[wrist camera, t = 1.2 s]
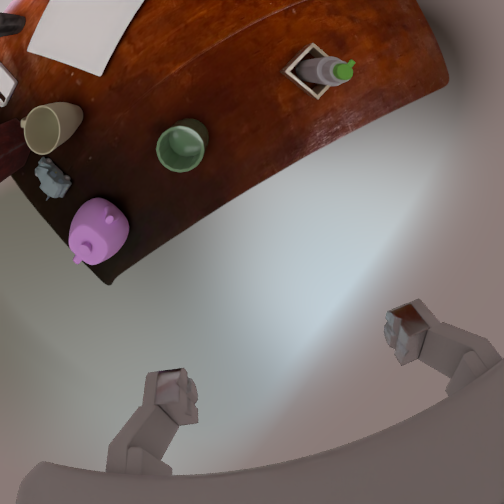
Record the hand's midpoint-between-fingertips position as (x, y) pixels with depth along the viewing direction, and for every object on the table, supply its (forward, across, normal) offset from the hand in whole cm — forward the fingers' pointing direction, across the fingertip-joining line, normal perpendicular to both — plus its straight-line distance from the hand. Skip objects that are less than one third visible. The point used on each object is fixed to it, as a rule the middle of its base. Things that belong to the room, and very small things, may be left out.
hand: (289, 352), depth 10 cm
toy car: (+52, +39, -7) cm, 65 cm away
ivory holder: (+44, -18, -12) cm, 49 cm away
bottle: (+45, -18, -12) cm, 49 cm away
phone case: (+50, +47, -38) cm, 78 cm away
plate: (+46, +19, -38) cm, 63 cm away
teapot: (+52, +30, +7) cm, 61 cm away
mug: (+49, +29, -18) cm, 60 cm away
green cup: (+48, +6, -4) cm, 49 cm away
